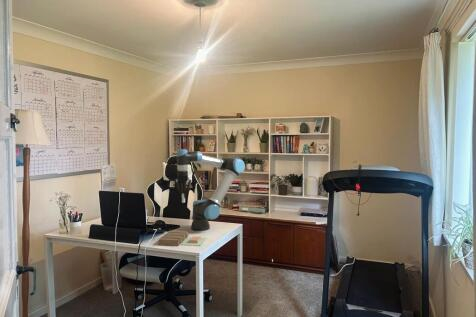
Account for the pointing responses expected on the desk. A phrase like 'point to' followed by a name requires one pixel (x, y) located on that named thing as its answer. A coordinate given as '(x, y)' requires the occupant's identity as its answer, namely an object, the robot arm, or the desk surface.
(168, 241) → the deck
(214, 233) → the desk surface
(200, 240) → the mat
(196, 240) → the card
